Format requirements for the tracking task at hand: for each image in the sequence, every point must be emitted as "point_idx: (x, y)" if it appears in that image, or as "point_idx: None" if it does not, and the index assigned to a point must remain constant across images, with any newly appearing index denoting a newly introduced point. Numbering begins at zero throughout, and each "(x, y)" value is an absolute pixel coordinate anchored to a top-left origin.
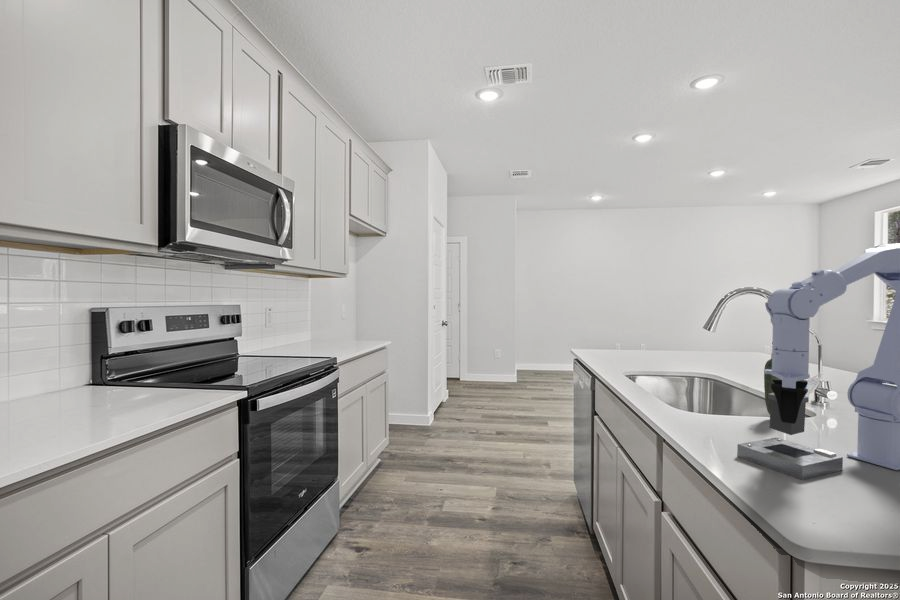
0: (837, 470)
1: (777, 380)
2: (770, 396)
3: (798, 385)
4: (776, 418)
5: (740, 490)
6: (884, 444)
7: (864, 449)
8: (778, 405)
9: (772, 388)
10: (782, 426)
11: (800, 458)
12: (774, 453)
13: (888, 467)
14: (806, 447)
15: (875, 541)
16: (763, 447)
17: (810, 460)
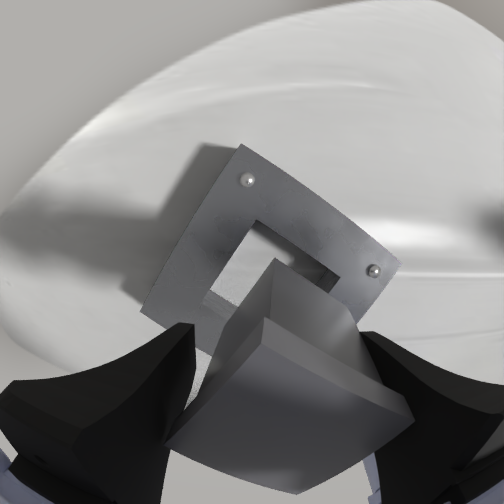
0: None
1: (480, 442)
2: (248, 346)
3: (399, 501)
4: (252, 304)
5: (32, 187)
6: None
7: None
8: (126, 355)
9: (5, 389)
10: (238, 312)
11: (205, 315)
12: (207, 252)
13: None
14: None
15: (17, 335)
16: (262, 222)
17: (204, 335)
